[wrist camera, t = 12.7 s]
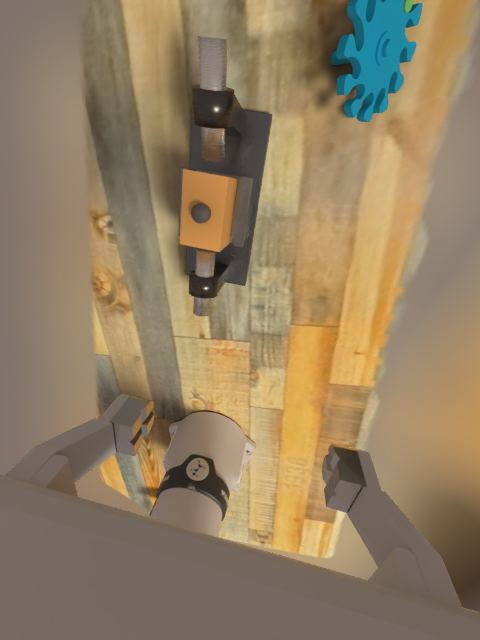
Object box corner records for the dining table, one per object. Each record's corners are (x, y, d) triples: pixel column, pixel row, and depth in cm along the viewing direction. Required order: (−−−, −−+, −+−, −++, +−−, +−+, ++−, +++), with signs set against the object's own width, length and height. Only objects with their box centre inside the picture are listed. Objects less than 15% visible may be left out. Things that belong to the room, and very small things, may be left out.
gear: (377, 143, 27) (331, 76, 20) (332, 139, 31) (281, 82, 24) (447, 8, 23) (420, -131, 16) (386, 23, 27) (343, -84, 20)
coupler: (199, 172, 28) (179, 168, 23) (237, 179, 28) (226, 176, 23) (194, 236, 32) (176, 245, 27) (229, 243, 31) (217, 253, 26)
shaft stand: (243, 298, 39) (229, 333, 30) (187, 287, 40) (155, 318, 30) (277, 85, 27) (271, 29, 18) (196, 75, 28) (150, 16, 19)
